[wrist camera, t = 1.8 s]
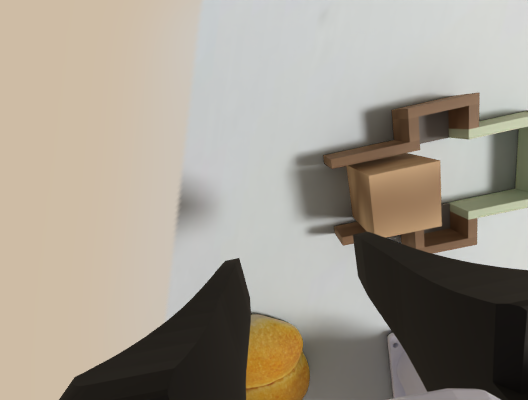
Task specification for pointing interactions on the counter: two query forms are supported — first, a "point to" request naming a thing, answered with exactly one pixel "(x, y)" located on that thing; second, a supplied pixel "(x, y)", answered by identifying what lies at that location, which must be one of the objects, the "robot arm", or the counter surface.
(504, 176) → the counter surface
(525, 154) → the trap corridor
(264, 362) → the bread roll
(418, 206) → the oak block
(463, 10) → the counter surface
